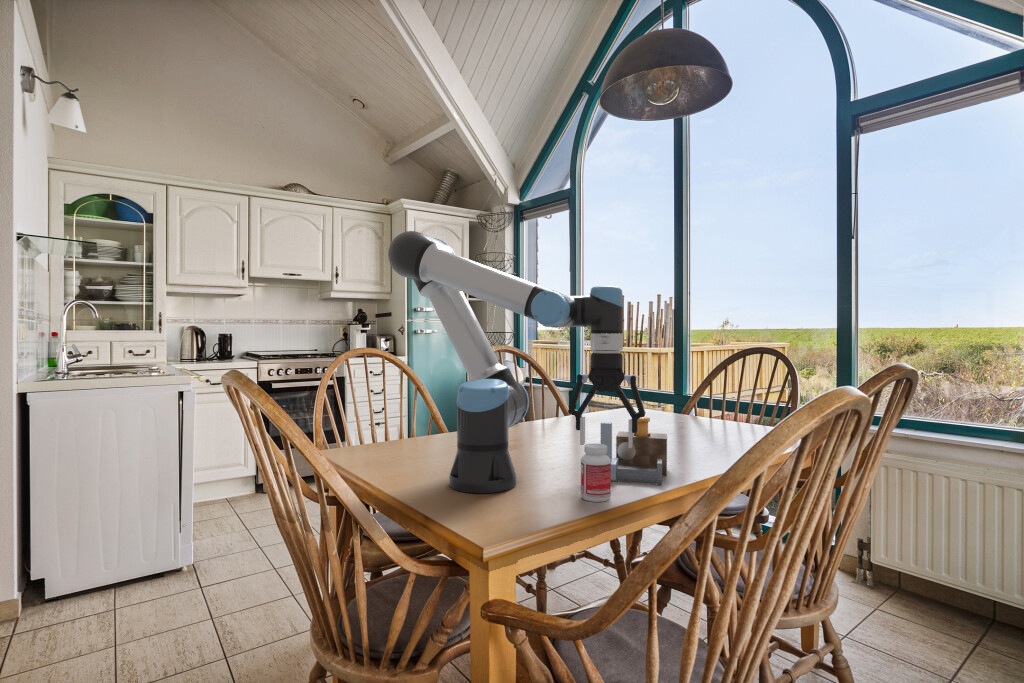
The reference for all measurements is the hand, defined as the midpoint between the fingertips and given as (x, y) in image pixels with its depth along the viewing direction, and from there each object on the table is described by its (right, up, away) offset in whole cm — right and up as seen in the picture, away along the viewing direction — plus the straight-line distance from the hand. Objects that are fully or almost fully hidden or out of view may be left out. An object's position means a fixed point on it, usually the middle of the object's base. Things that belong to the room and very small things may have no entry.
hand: (606, 445), depth 127 cm
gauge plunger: (+10, -1, +7) cm, 13 cm away
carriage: (0, -8, 0) cm, 8 cm away
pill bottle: (-5, -8, -15) cm, 18 cm away
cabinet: (+10, -8, +7) cm, 15 cm away
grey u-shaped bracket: (+4, -8, -1) cm, 9 cm away
